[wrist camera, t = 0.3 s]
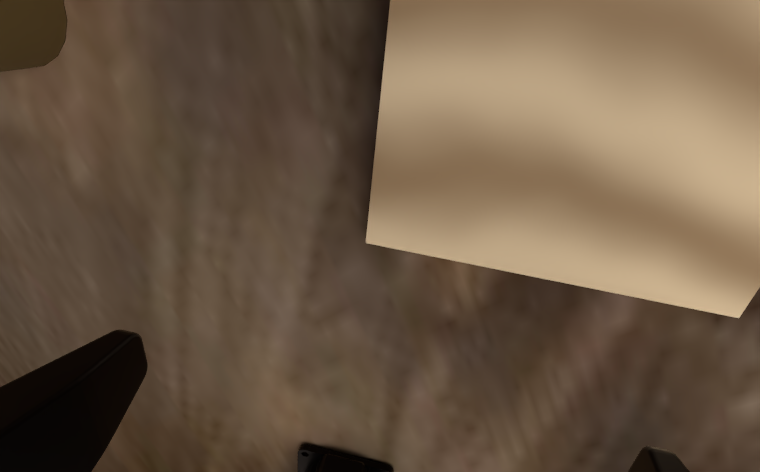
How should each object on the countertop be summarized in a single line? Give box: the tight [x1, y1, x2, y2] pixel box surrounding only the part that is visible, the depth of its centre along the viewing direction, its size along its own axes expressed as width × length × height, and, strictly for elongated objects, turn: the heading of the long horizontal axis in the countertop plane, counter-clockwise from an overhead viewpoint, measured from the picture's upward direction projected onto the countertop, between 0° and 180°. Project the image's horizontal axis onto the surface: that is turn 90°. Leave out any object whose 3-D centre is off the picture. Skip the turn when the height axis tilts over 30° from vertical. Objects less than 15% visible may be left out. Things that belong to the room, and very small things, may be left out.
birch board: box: [366, 0, 760, 318], centre depth 17 cm, size 20×16×1 cm
